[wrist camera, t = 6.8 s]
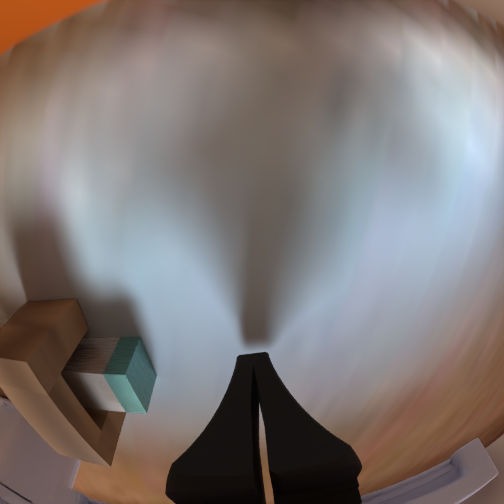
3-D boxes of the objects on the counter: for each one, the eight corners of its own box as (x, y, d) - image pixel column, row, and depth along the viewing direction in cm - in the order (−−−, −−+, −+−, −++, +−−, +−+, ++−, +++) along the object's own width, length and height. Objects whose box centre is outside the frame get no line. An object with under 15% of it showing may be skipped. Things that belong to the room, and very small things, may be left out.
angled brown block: (81, 399, 15) (58, 453, 10) (27, 301, 12) (-22, 353, 7) (128, 404, 15) (110, 466, 10) (76, 298, 12) (26, 362, 7)
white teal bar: (33, 367, 14) (17, 393, 11) (15, 335, 13) (-6, 360, 10) (156, 375, 14) (146, 413, 11) (140, 336, 13) (125, 374, 10)
